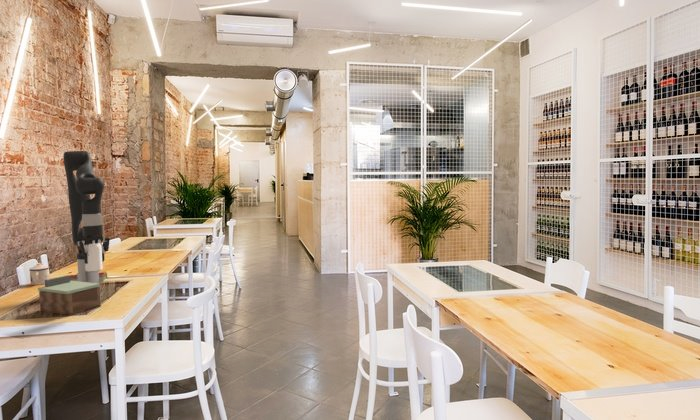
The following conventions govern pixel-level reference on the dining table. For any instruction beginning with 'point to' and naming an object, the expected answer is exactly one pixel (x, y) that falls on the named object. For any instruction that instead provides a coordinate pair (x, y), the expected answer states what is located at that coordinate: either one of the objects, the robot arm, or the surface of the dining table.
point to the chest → (70, 301)
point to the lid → (66, 285)
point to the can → (94, 257)
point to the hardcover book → (101, 277)
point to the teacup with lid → (39, 274)
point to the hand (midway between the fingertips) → (94, 263)
